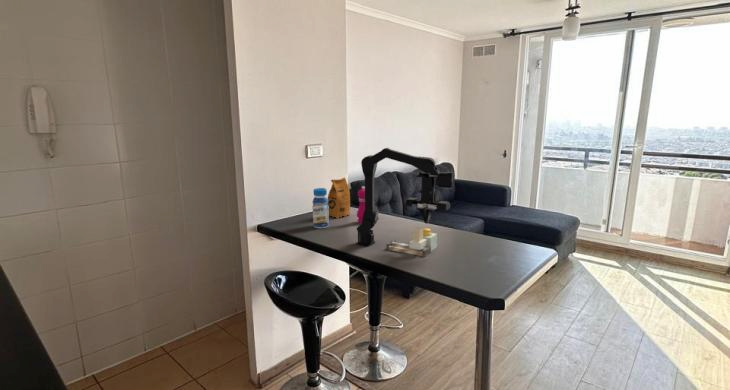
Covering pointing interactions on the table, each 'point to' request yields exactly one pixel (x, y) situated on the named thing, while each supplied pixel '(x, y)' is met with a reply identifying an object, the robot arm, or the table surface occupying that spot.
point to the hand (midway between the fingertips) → (426, 223)
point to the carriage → (418, 239)
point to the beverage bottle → (320, 208)
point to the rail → (407, 249)
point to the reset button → (426, 232)
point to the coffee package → (339, 198)
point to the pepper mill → (361, 204)
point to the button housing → (431, 241)
